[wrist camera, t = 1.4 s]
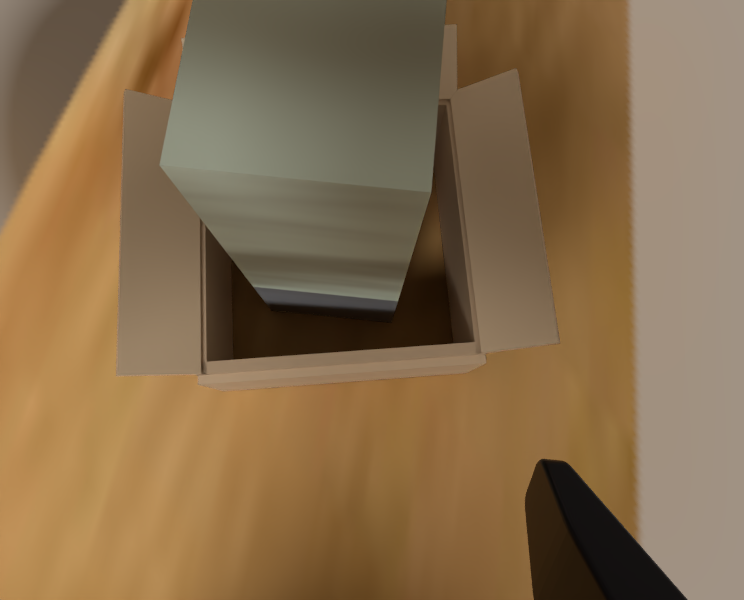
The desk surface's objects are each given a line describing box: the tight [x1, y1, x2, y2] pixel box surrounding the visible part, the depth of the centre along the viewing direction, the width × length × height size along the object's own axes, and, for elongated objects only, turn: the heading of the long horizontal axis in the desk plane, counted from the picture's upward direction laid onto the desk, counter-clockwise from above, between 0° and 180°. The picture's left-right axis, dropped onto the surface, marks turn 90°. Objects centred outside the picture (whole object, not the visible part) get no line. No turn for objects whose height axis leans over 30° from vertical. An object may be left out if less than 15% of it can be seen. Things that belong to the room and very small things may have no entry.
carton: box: [116, 24, 560, 391], centre depth 21 cm, size 12×14×5 cm
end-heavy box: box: [159, 0, 447, 323], centre depth 17 cm, size 5×5×13 cm
